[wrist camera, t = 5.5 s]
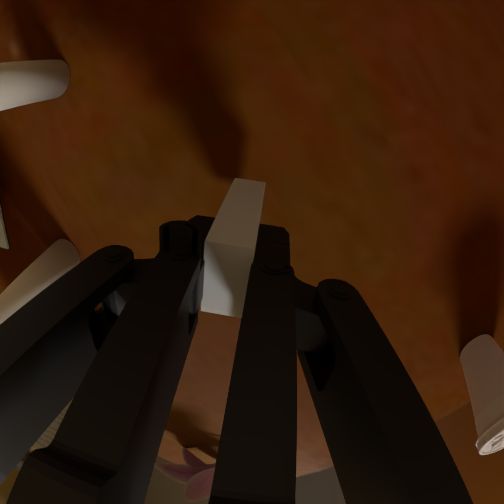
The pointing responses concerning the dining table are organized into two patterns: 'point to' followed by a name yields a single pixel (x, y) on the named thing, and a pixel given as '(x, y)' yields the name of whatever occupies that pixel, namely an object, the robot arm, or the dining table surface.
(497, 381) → the smoothie
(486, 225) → the dining table surface
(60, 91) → the post
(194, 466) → the lily
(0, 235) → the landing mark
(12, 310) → the post
